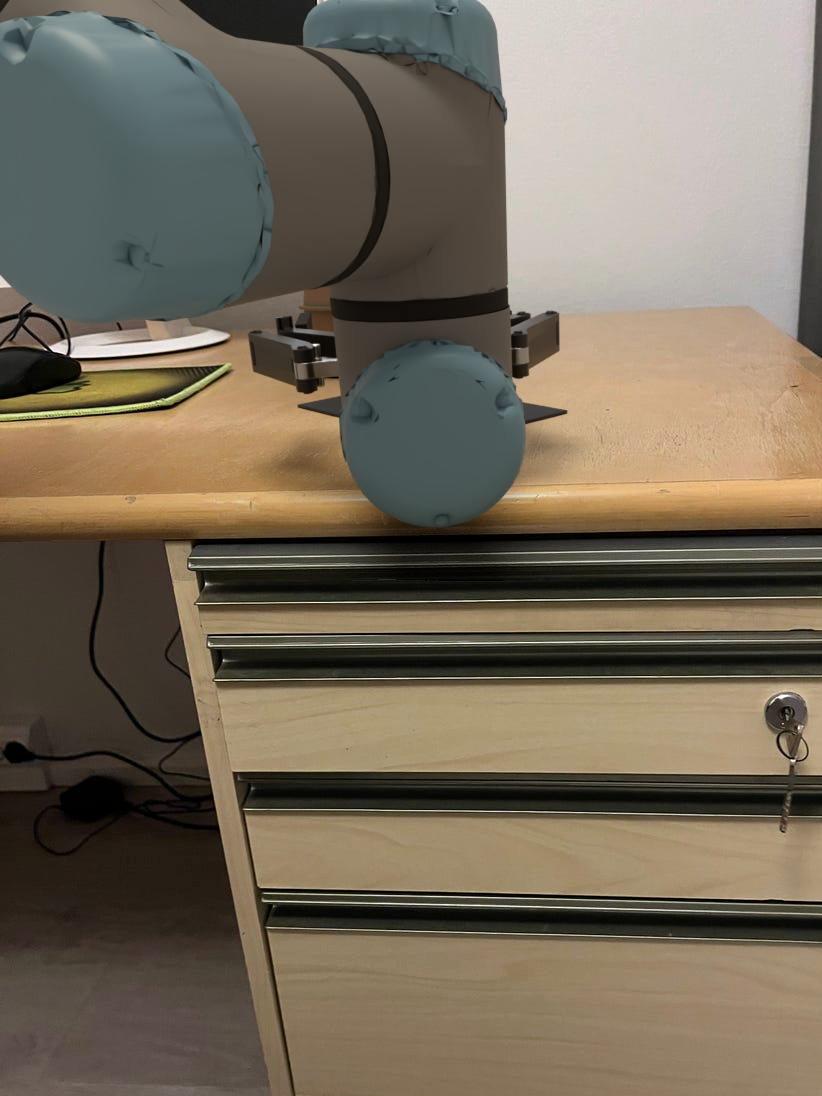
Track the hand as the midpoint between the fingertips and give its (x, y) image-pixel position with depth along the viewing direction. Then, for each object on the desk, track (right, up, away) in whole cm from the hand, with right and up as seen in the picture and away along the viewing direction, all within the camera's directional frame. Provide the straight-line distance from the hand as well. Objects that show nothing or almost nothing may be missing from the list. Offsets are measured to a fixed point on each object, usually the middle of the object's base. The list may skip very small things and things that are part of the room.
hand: (402, 326), depth 72 cm
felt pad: (+1, -4, +8) cm, 9 cm away
